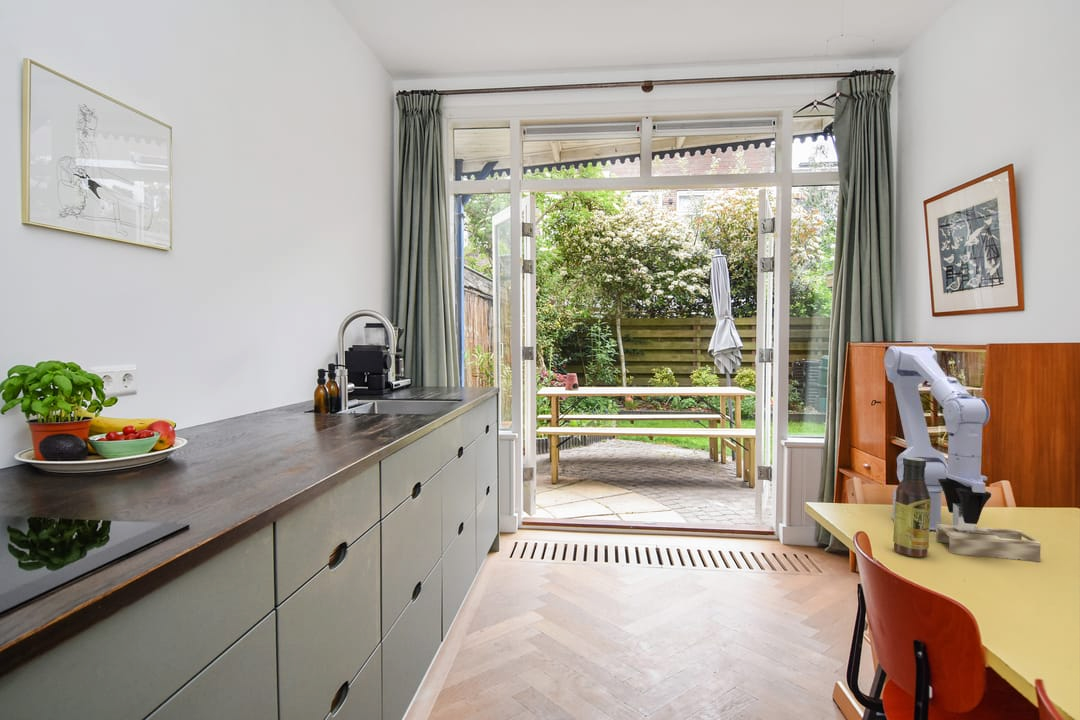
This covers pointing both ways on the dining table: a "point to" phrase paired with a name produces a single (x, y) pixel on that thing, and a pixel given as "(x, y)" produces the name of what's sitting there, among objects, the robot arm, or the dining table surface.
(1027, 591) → the dining table surface
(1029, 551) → the beige wooden frame
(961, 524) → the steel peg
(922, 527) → the sauce bottle
